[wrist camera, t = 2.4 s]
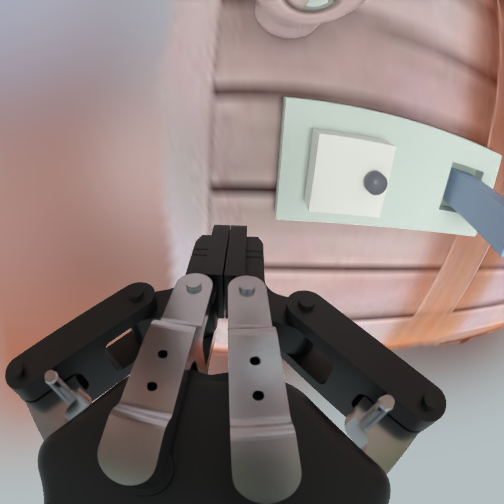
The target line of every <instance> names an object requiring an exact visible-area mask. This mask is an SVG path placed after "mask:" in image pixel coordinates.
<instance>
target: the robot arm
mask: <svg viewBox="0 0 504 504" xmlns="http://www.w3.org/2000/svg"><path fill="white" fill-rule="evenodd" d="M263 257H264V256H263V243H262V242H261V240H260V239H259V238H258V237H247V226H234V225H231V230H230V225H214V228H213V232H212V235H202V236H201V237H200V238H199V239H198V240H197V241H196V243H195V246H194V250H193V252H192V256H191V259H190V262H189V265H188V269H187V272H186V275H185V276H183V277H181V278H180V279H179V280H178V281H177V283H176V285H175V287H174V288H172V289H168V290H163V291H157V292H155V291H154V289H153V287H152V286H151V285H149V284H147V283H142V282H140V283H139V282H138V283H133V284H130V285H128V286H127V287H125V288H123V289H122V290H120V291H118V292H117V293H115V294H114V295H112V296H110V297H108V298H107V299H105V300H104V301H102V302H100V303H99V304H97V305H96V306H94V307H92V308H91V309H89V310H88V311H86V312H84V313H83V314H81V315H80V316H78V317H76V318H75V319H73V320H72V321H70V322H69V323H67V324H65V325H64V326H62V327H61V328H59V329H58V330H56V331H55V332H53V333H52V334H50V335H49V336H47V337H45V338H44V339H43V340H41V341H39V342H38V343H36V344H35V345H33V346H32V347H30V348H29V349H27V350H26V351H24V352H23V353H22V354H20V355H19V356H17V357H16V358H14V359H13V360H12V361H11V362H10V363H9V365H8V367H7V369H6V374H5V378H6V382H7V384H8V385H9V386H10V387H11V388H12V389H13V390H14V391H15V392H16V393H17V394H18V395H19V396H20V397H21V399H22V400H23V401H25V402H26V404H27V406H28V408H29V411H30V413H31V415H32V417H33V419H34V422H35V423H36V426H37V428H38V430H39V432H40V434H41V436H42V438H43V439H44V442H43V444H42V445H41V448H40V450H39V454H38V469H39V473H40V477H41V480H42V486H43V492H44V504H388V503H389V499H390V483H389V479H388V477H387V475H386V474H387V473H388V472H389V471H390V470H391V468H392V467H393V466H394V465H395V464H396V462H397V461H398V460H399V459H400V457H401V456H402V455H403V453H404V452H405V451H406V450H407V448H408V447H409V445H410V444H411V443H412V441H413V440H414V438H415V437H416V436H417V434H418V433H420V432H421V431H423V430H424V429H426V428H427V427H429V426H430V425H431V424H433V423H434V422H435V421H437V420H438V419H439V418H441V416H442V415H443V414H444V412H445V408H446V399H445V396H444V394H443V392H442V391H441V390H440V389H439V388H438V387H437V386H436V385H434V384H433V383H432V382H430V381H429V380H428V379H427V378H425V377H424V376H423V375H421V374H420V373H419V372H418V371H416V370H415V369H414V368H413V367H411V366H410V365H409V364H407V363H406V362H405V361H404V360H402V359H401V358H399V357H398V356H397V355H396V354H394V353H393V352H392V351H391V350H389V349H388V348H387V347H385V346H384V345H383V344H382V343H380V342H379V341H378V340H376V339H375V338H374V337H372V336H371V335H370V334H369V333H367V332H366V331H365V330H363V329H362V328H361V327H359V326H358V325H357V324H356V323H354V322H353V321H352V320H350V319H349V318H348V317H346V316H345V315H344V314H343V313H341V312H340V311H339V310H337V309H336V308H335V307H333V306H332V305H331V304H329V303H328V302H327V301H326V300H324V299H323V298H322V297H320V296H319V295H317V294H316V293H313V292H310V291H297V292H294V293H292V294H291V295H290V296H289V297H285V296H281V295H278V294H276V293H274V292H272V291H271V290H270V289H269V288H268V287H267V286H266V284H265V280H264V258H263ZM224 314H226V318H228V368H229V372H228V373H222V374H215V375H208V370H209V365H210V360H211V356H212V351H213V346H214V342H215V337H216V328H217V323H218V318H224ZM130 328H131V330H132V331H130V332H129V333H127V334H126V335H124V336H123V337H122V338H120V339H119V340H117V341H116V342H114V343H113V344H111V345H110V346H108V347H107V348H106V346H107V344H108V343H109V342H111V341H112V340H113V339H115V338H116V337H118V336H119V335H121V334H122V333H124V332H125V331H126V330H128V329H130ZM281 357H282V358H283V359H284V360H285V361H286V362H287V363H288V364H289V365H290V366H291V367H292V368H293V369H294V370H295V371H296V372H297V373H298V374H299V375H300V376H301V377H303V378H304V379H305V380H306V381H307V382H308V383H309V384H310V385H311V386H312V387H313V388H314V389H315V390H317V391H318V392H319V393H320V394H321V395H322V396H323V397H324V398H325V399H326V400H327V401H329V402H330V403H331V404H332V405H333V406H334V407H335V408H336V409H338V410H339V411H340V412H341V413H342V414H343V415H344V416H345V417H346V419H345V430H346V432H347V434H348V435H349V436H350V438H351V439H352V440H351V439H350V438H348V437H347V436H346V435H345V434H344V433H343V432H342V431H341V430H340V429H339V428H338V427H337V426H336V425H335V424H334V423H333V422H332V421H331V420H330V419H329V418H328V417H327V416H326V415H325V414H324V413H323V412H322V411H321V410H320V409H319V408H318V407H317V406H316V405H315V404H314V403H313V402H312V401H311V400H310V399H309V398H308V397H307V396H306V395H305V394H304V393H302V392H301V391H300V390H298V389H297V388H295V387H294V386H292V385H289V384H287V383H285V379H284V372H283V367H282V360H281ZM129 374H130V376H128V375H129ZM127 376H128V377H127ZM125 377H126V378H125ZM124 378H125V379H124ZM122 379H123V380H122ZM118 382H119V383H118ZM116 383H117V384H116ZM114 385H115V386H114ZM113 386H114V387H113ZM111 387H112V388H111ZM110 388H111V389H110ZM109 389H110V390H109ZM107 390H109V391H107ZM106 391H107V392H106ZM105 392H106V393H105ZM103 393H105V394H104V395H102V394H103ZM100 395H102V396H101V397H99V396H100ZM98 397H99V398H98ZM96 398H98V399H97V400H96V401H94V402H93V403H92V401H93V400H95V399H96Z"/></svg>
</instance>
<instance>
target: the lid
mask: <svg viewBox="0 0 504 504" xmlns="http://www.w3.org/2000/svg"><path fill="white" fill-rule="evenodd" d="M395 150H396V146H395V145H393V144H391V143H389V142H388V141H386V140H383V139H379V138H374V137H368V136H363V135H357V134H351V133H345V132H339V131H332V130H324V129H316V128H313V133H312V142H311V151H310V159H309V167H308V175H307V183H306V190H305V198H304V201H305V203H306V206H307V209H308V211H309V212H321V213H334V214H347V215H358V216H369V217H380V213H381V210H382V206H383V202H384V198H385V194H386V191H387V186H388V182H389V178H390V174H391V169H392V165H393V160H394V155H395Z"/></svg>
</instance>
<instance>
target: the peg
mask: <svg viewBox="0 0 504 504" xmlns="http://www.w3.org/2000/svg"><path fill="white" fill-rule="evenodd" d="M442 199H443V200H444V201H445V202H447V203H448V204H449V205H450V206H451V207H452V208H453V209H454V210H455V211H457V212H458V213H459V214H460V215H461V216H462V217H463V218H464V219H465V220H466V221H467V222H468V223H469V224H470V225H471V226H472V227H473V228H474V229H475V230H476V231H477V232H478V233H479V234H480V235H481V236H482V237H483V238H484V239H485V240H486V241H487V242H488V243H489V244H490V245H491V247H492V248H493V249H494V250H495V251H496V252H497V253H498V254H499V255H500V257H504V197H502V196H501V195H500V194H499V193H497V192H496V191H495V190H493V189H492V188H491V187H489V186H488V185H486V184H485V183H484V182H482V181H481V180H479V179H478V178H476V177H475V176H473V175H472V174H470V173H468V172H465V171H461V170H458V169H455V168H451V170H450V174H449V178H448V181H447V185H446V188H445V191H444V195H443V198H442Z"/></svg>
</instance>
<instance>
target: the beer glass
mask: <svg viewBox="0 0 504 504" xmlns="http://www.w3.org/2000/svg"><path fill="white" fill-rule="evenodd" d="M366 1H367V0H257V1H256V3H255V16H256V19H257V21H258V22H259V24H260V25H261V26H262V27H263V28H264V29H265V30H266V31H268V32H269V33H271V34H273V35H275V36H278V37H282V38H289V39H293V38H300V37H304V36H306V35H308V34H310V33H312V32H313V31H314V30H315V29H316V28H317V27H318V25H319V24H320V23H325V22H328V21H332V20H335V19H338V18H340V17H342V16H344V15H346V14H348V13H350V12H352V11H353V10H355V9H356V8H358V7H359V6H361V5H362V4H363V3H365V2H366Z"/></svg>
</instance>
